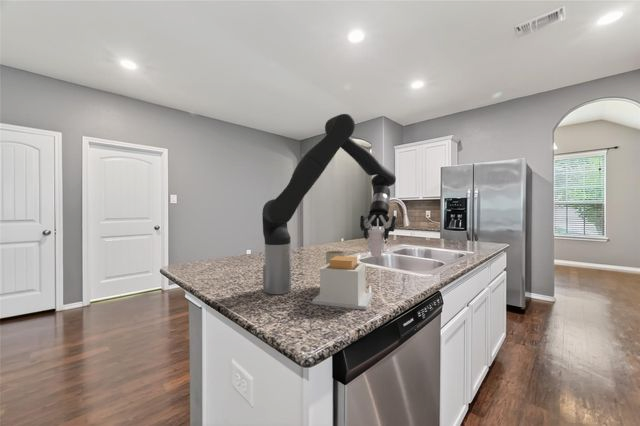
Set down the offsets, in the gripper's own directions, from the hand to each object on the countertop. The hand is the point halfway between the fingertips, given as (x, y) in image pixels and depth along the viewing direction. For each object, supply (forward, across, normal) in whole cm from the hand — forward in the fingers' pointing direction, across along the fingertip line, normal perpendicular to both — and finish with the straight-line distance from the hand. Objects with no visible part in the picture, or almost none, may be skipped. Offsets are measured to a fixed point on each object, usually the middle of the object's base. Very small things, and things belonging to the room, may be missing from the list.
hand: (375, 238), depth 101 cm
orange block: (+20, -8, -3) cm, 22 cm away
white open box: (+25, -8, +2) cm, 26 cm away
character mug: (+15, -15, +12) cm, 24 cm away
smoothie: (+4, 0, +6) cm, 7 cm away
